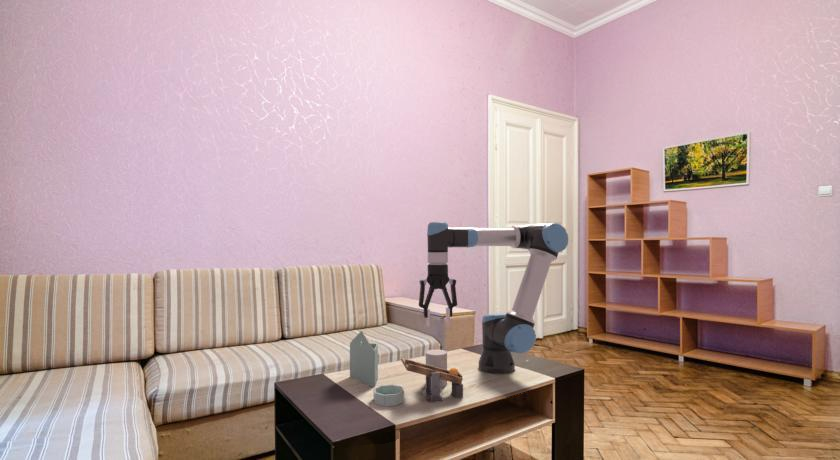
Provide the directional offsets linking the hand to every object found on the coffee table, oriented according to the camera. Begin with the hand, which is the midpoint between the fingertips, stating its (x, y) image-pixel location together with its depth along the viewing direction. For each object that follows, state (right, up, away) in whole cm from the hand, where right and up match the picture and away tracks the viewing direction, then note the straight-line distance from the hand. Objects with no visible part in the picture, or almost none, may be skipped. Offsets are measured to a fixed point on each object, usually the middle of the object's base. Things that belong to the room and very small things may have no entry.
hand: (438, 325), depth 163 cm
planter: (-27, -24, +10) cm, 37 cm away
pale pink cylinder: (0, -23, +5) cm, 24 cm away
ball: (+5, -15, -7) cm, 17 cm away
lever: (-3, -15, -5) cm, 16 cm away
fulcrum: (-2, -23, -8) cm, 25 cm away
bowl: (-17, -23, -12) cm, 31 cm away
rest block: (+7, -23, -7) cm, 25 cm away
